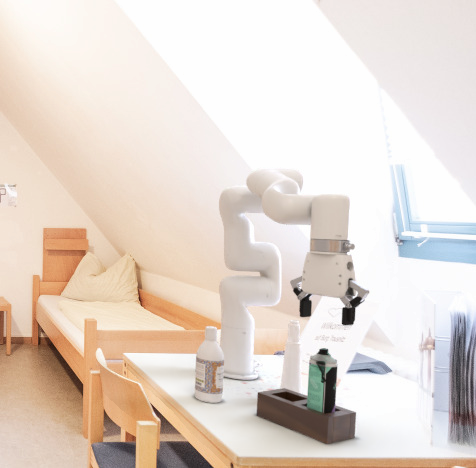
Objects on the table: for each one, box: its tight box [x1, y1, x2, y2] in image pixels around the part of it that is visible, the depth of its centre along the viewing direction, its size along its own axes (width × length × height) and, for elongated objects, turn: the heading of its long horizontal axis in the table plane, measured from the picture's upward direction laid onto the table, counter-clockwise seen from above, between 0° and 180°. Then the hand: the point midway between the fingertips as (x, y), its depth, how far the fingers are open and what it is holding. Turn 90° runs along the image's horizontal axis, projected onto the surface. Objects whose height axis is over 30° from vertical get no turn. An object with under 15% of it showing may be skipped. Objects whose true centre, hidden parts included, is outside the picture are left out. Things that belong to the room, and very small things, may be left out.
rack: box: [256, 388, 357, 445], centre depth 129 cm, size 10×18×6 cm, turn 23°
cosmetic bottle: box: [279, 319, 303, 394], centre depth 147 cm, size 6×6×22 cm
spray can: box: [306, 347, 339, 414], centre depth 125 cm, size 6×6×20 cm
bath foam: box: [194, 325, 224, 404], centre depth 146 cm, size 7×7×20 cm
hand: (325, 320), depth 124 cm, fingers open, 9 cm apart
